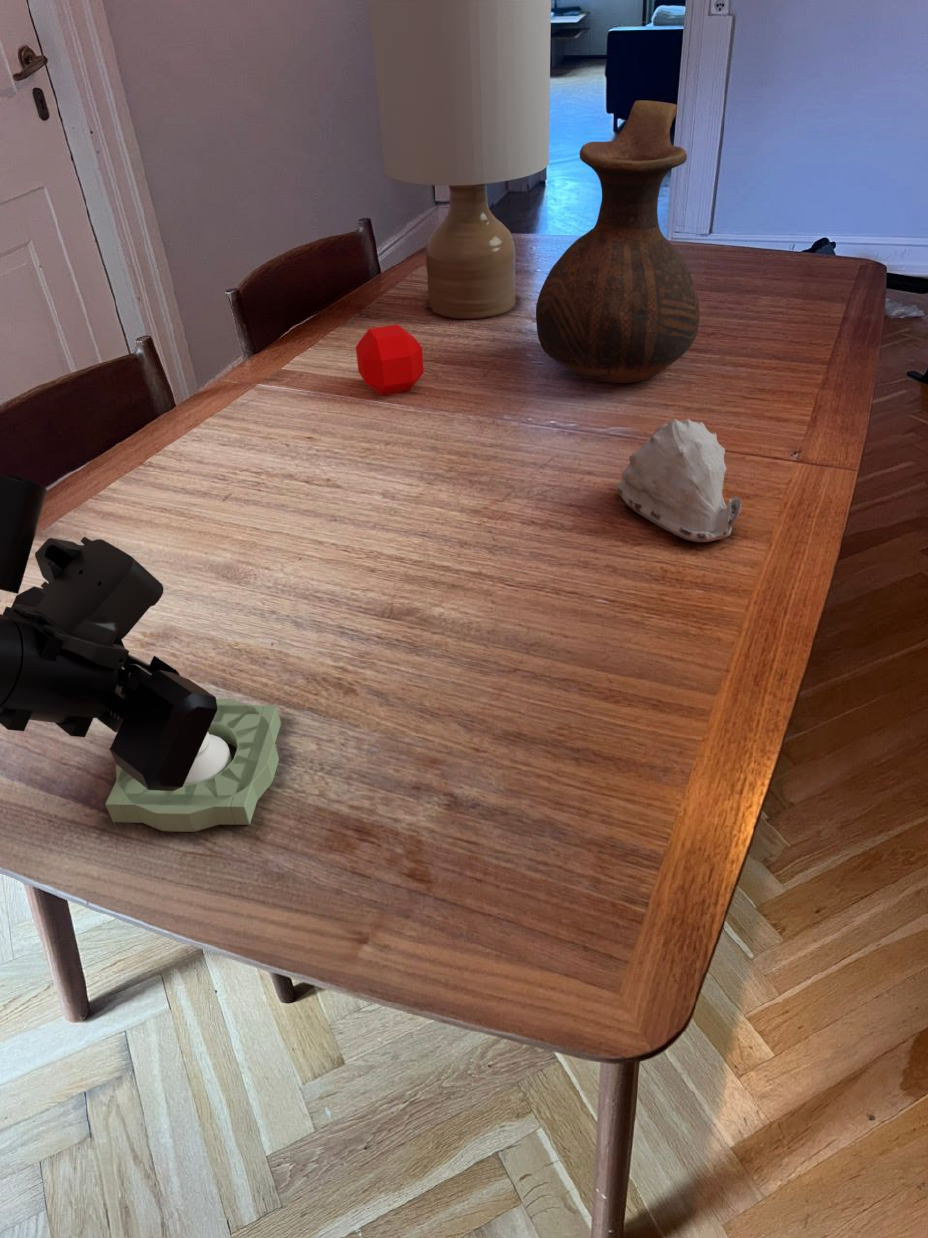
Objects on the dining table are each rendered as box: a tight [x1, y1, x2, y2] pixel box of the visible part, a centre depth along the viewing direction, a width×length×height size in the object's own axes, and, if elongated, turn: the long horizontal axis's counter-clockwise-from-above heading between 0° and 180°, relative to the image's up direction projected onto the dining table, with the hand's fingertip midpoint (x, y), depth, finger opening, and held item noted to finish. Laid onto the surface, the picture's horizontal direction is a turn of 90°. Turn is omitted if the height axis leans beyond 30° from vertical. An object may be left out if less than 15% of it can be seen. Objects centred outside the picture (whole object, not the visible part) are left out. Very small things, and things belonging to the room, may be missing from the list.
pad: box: [105, 698, 282, 833], centre depth 66 cm, size 11×11×2 cm
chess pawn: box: [184, 732, 233, 784], centre depth 64 cm, size 5×5×9 cm
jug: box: [535, 99, 701, 384], centre depth 112 cm, size 22×22×30 cm
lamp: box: [368, 0, 552, 320], centre depth 129 cm, size 24×24×42 cm
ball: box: [355, 323, 425, 396], centre depth 117 cm, size 8×8×8 cm
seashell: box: [616, 417, 742, 543], centre depth 89 cm, size 12×14×10 cm
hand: (195, 697), depth 63 cm, fingers closed on chess pawn, 3 cm apart
